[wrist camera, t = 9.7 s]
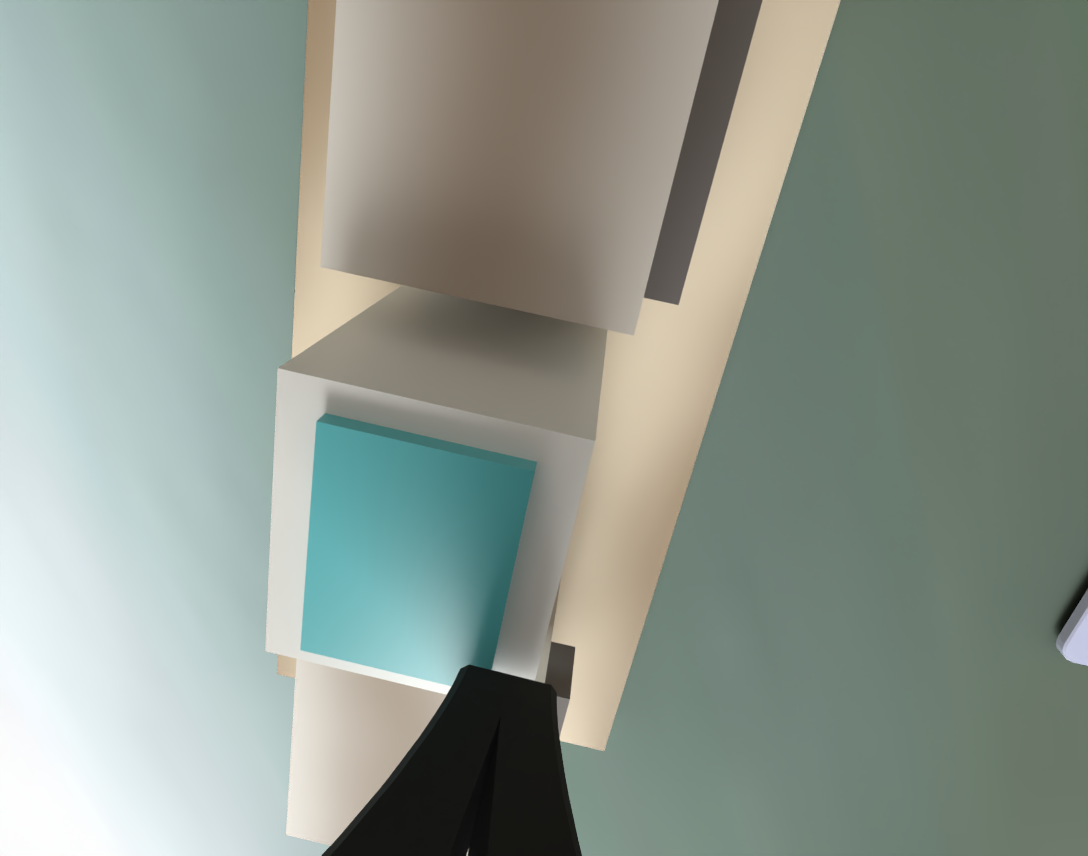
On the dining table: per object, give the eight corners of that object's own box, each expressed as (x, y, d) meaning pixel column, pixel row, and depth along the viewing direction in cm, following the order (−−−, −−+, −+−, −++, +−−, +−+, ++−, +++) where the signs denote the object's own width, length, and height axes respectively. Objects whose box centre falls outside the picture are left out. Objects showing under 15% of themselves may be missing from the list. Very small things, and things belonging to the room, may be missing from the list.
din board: (830, -21, 14) (972, -130, 8) (605, 712, 22) (597, 919, 16) (345, -120, 14) (151, -294, 8) (299, 640, 22) (183, 818, 16)
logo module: (607, 326, 15) (594, 449, 9) (560, 524, 17) (523, 728, 11) (407, 281, 15) (266, 375, 9) (383, 483, 17) (256, 664, 11)
